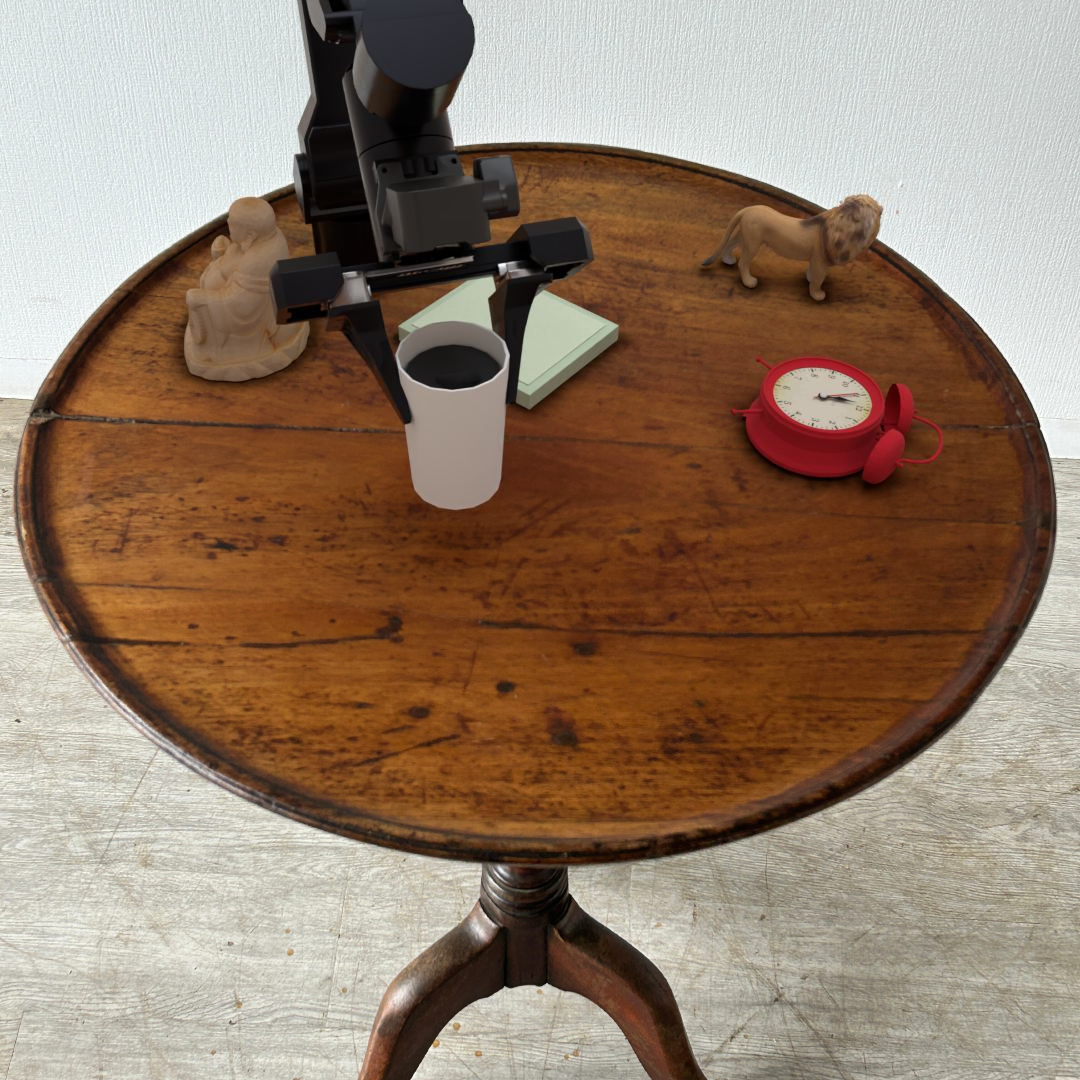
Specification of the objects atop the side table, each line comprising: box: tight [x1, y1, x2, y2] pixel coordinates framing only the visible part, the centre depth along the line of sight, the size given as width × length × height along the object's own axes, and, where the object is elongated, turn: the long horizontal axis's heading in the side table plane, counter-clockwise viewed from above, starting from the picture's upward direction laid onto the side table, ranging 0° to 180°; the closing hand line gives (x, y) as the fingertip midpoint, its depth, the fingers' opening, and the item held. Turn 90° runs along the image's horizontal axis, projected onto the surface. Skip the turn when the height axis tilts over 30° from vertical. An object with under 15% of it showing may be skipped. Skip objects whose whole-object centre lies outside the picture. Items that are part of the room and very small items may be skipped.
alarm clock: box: [730, 356, 944, 485], centre depth 85 cm, size 10×6×15 cm
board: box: [397, 277, 620, 410], centre depth 94 cm, size 14×12×2 cm
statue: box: [183, 196, 311, 382], centre depth 90 cm, size 12×14×10 cm
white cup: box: [394, 321, 510, 511], centre depth 69 cm, size 7×7×10 cm
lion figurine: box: [700, 193, 884, 302], centre depth 99 cm, size 15×5×9 cm, turn 80°
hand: (459, 414), depth 67 cm, fingers closed on white cup, 6 cm apart
